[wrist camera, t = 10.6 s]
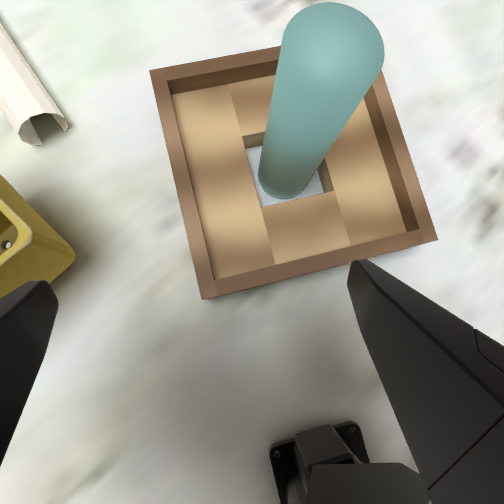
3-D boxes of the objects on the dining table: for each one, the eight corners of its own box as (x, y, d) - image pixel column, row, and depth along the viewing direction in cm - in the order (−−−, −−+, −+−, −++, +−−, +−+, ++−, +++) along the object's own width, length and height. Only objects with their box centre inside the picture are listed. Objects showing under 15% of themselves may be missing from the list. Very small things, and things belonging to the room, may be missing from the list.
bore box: (408, 247, 24) (438, 239, 20) (206, 299, 22) (201, 299, 19) (350, 65, 26) (368, 29, 22) (161, 102, 24) (149, 70, 21)
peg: (318, 170, 24) (403, 42, 12) (288, 209, 24) (346, 116, 11) (277, 140, 25) (321, -16, 12) (247, 178, 24) (261, 53, 12)
